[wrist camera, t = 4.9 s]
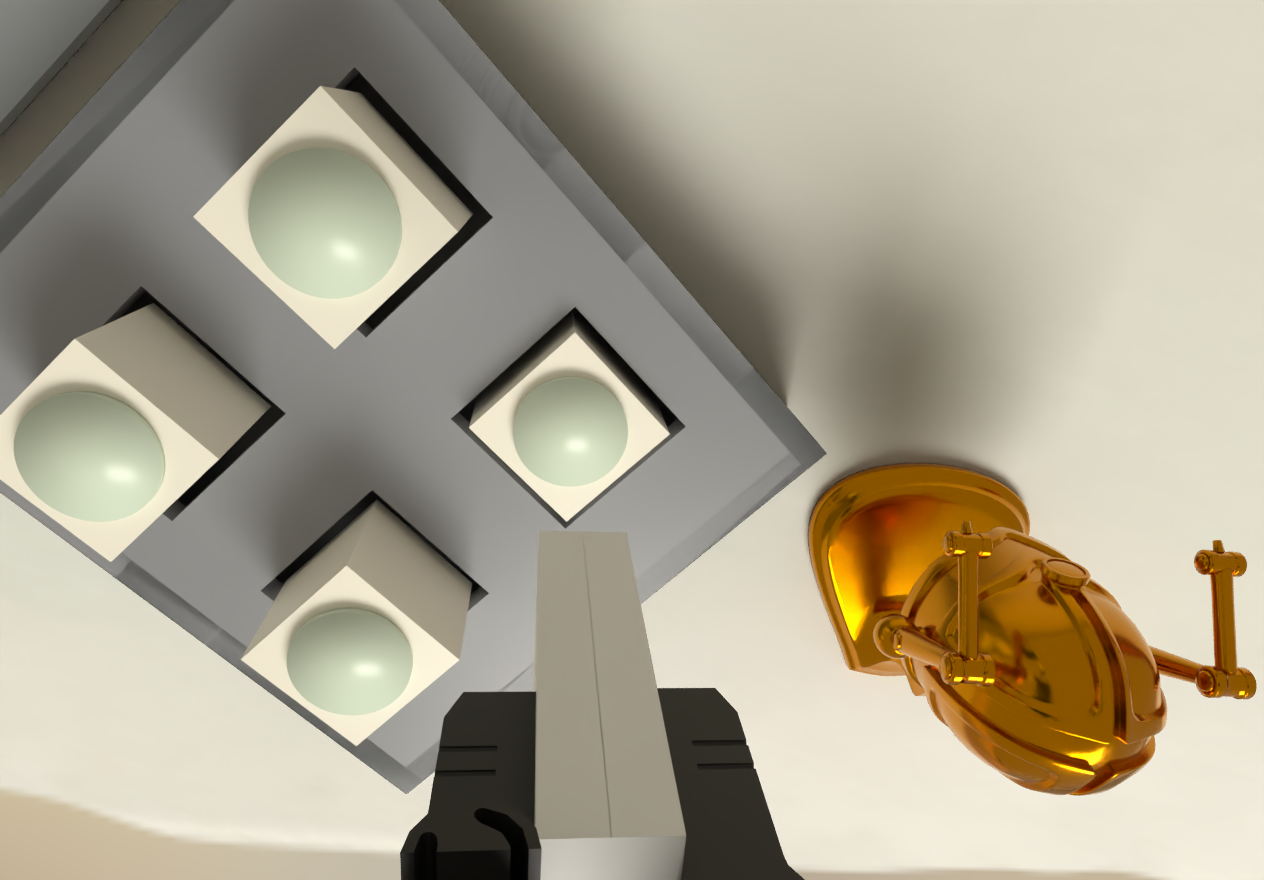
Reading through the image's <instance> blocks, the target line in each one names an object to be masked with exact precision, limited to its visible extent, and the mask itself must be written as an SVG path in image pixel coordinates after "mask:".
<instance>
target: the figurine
mask: <svg viewBox="0 0 1264 880" xmlns="http://www.w3.org/2000/svg"><path fill="white" fill-rule="evenodd" d="M1029 532H1030V520H1029V514H1028V512H1027V509H1026V507H1025V505H1024V504H1023V502H1022V501H1021V499H1020V498H1019V497H1018V496H1017V495H1016V494H1015V493H1014V492H1013V491H1012V490H1010V489H1009V488H1008V487H1007V486H1005V485H1003V484H1002V483H1000V482H999V481H997V480H995V479H993V478H991V477H989V476H986V475H984V474H981V473H979V472H975V471H972V470H969V469H964V468H960V467H955V466H949V465H941V464H930V463H904V464H893V465H885V466H880V467H875V468H871V469H867V470H864V471H861V472H858V473H855V474H853V475H850V476H848V477H846V478H844V479H842V480H840V481H839V482H837V483H836V484H834V485H833V486H832V487H830V488H829V489H828V490H827V491H826V492H825V493H824V494H823V495H822V496H821V498H820V499H819V500H818V502H817V504H816V505H815V507H814V509H813V512H812V515H811V518H810V523H809V528H808V543H809V552H810V558H811V563H812V567H813V571H814V575H815V578H816V582H817V585H818V588H819V591H820V594H821V597H822V600H823V602H824V605H825V608H826V610H827V613H828V616H829V618H830V621H831V623H832V626H833V628H834V631H835V633H836V636H837V638H838V641H839V643H840V646H841V649H842V652H843V655H844V659H845V662H846V665H847V667H848V668H849V669H850V670H853V671H858V672H862V673H867V674H872V675H880V676H902V675H906V676H907V678H908V681H909V684H910V687H911V690H912V692H913V694H914V695H916V696H926V698H927V701H928V704H929V706H930V708H931V710H932V711H933V713H934V714H935V715H936V716H937V718H938V719H939V720H940V721H941V722H942V723H944V724H945V725H946V726H948V727H949V728H950V729H951V731H952V732H953V733H954V735H955V736H956V737H957V738H958V739H959V741H960V742H961V743H962V744H963V745H964V746H965V747H966V748H967V749H968V750H969V751H970V752H972V753H973V754H974V755H975V756H976V757H978V758H979V759H980V760H982V761H983V762H984V763H986V764H987V765H989V766H990V767H992V768H994V769H995V770H997V771H999V772H1000V773H1001V774H1003V775H1004V776H1006V777H1007V778H1008V779H1010V780H1011V781H1013V782H1015V783H1016V784H1018V785H1020V786H1022V787H1025V788H1027V789H1030V790H1034V791H1038V792H1042V793H1048V794H1054V795H1066V794H1070V795H1078V796H1081V795H1090V794H1097V793H1101V792H1104V791H1107V790H1109V789H1111V788H1113V787H1115V786H1117V785H1118V784H1120V783H1122V782H1123V781H1125V780H1126V779H1128V778H1129V777H1131V776H1133V775H1134V774H1136V773H1137V772H1138V771H1140V770H1141V769H1142V768H1143V767H1144V766H1145V765H1146V764H1147V763H1148V762H1149V761H1150V760H1151V758H1152V757H1153V755H1154V752H1155V738H1154V735H1155V734H1157V733H1159V732H1160V731H1161V730H1163V728H1164V727H1165V724H1166V720H1167V704H1166V699H1165V696H1164V693H1163V691H1162V689H1161V686H1160V676H1159V674H1160V675H1164V676H1168V677H1172V678H1176V679H1180V680H1183V681H1187V682H1191V683H1195V684H1196V686H1197V689H1198V690H1199V692H1200V693H1201V694H1202V695H1203V696H1205V697H1209V698H1219V697H1222V696H1225V697H1233V698H1236V699H1250V698H1251V697H1253V696H1254V694H1255V692H1256V680H1255V678H1254V676H1253V674H1252V673H1251V672H1250V671H1249V670H1247V669H1246V668H1242V667H1237V653H1236V633H1235V613H1234V591H1233V577H1240V576H1242V575H1243V574H1244V573H1245V571H1246V568H1247V563H1246V559H1245V557H1244V556H1243V555H1242V554H1241V553H1238V552H1225V550H1224V547H1223V544H1222V541H1221V540H1214V541H1213V551H1212V550H1200V551H1199V552H1197V554H1196V556H1195V558H1194V565H1195V568H1196V570H1197V571H1198V572H1199V573H1201V574H1203V575H1210V579H1211V591H1212V613H1213V636H1214V658H1215V666H1206V665H1205V666H1204V665H1201V664H1199V663H1196V662H1193V661H1190V660H1188V659H1185V658H1182V657H1179V656H1176V655H1174V654H1171V653H1168V652H1165V651H1163V650H1160V649H1157V648H1154V647H1152V646H1149V645H1148V644H1147V643H1146V641H1145V639H1144V638H1143V636H1142V634H1141V633H1140V631H1139V630H1138V629H1137V627H1136V626H1135V624H1134V623H1133V622H1132V621H1131V620H1130V618H1129V617H1128V616H1127V615H1126V614H1125V613H1124V612H1123V611H1122V609H1121V607H1120V605H1119V604H1118V602H1117V601H1116V599H1115V598H1114V597H1113V596H1112V595H1111V594H1110V593H1109V592H1108V591H1107V590H1106V589H1105V588H1103V587H1102V586H1101V585H1100V584H1098V583H1097V582H1095V581H1094V580H1092V579H1091V578H1090V574H1089V572H1088V571H1087V570H1086V569H1085V568H1084V567H1082V566H1081V565H1079V564H1077V563H1074V562H1072V561H1071V560H1070V559H1068V558H1067V557H1066V556H1065V555H1064V554H1062V553H1061V552H1059V551H1058V550H1056V549H1055V548H1053V547H1051V546H1049V545H1048V544H1046V543H1044V542H1042V541H1040V540H1037V539H1035V538H1033V537H1031V536H1029ZM1224 552H1225V553H1224Z"/></svg>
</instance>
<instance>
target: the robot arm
mask: <svg viewBox="0 0 1264 880" xmlns="http://www.w3.org/2000/svg"><path fill="white" fill-rule="evenodd" d="M400 857H401V880H804V879H803V878H802V877H801V876H800V875H799V874H798V873H796V872H795V871H794V870H793V869H792V868H791V867H790V866H789V865H788V864H787V862H786V860H785V857H784V855H783V852H782V849H781V846H780V843H779V840H778V837H777V834H776V831H775V827H774V824H773V821H772V818H771V815H770V812H769V809H768V806H767V803H766V800H765V797H764V793H763V790H762V787H761V784H760V781H759V778H758V775H757V772H756V769H754V762H753V759H752V756H751V753H750V750H749V747H748V745H746V738H745V735H744V732H743V728H742V725H741V722H740V719H739V716H738V713H737V711H736V710H735V709H734V708H733V707H732V706H731V705H730V704H729V703H728V702H727V700H726V699H725V698H724V697H723V696H722V695H721V694H720V693H719V692H718V691H717V690H716V689H715V688H657V685H656V680H655V675H654V670H653V665H652V660H651V655H650V650H649V644H648V639H647V634H646V629H645V624H644V619H643V614H642V609H641V604H640V599H639V594H638V589H637V584H636V579H635V574H634V569H633V564H632V559H631V553H630V548H629V543H628V538H627V533H626V532H574V531H539V536H538V566H537V597H536V628H535V659H534V692H463V693H462V694H461V696H460V697H459V698H458V700H457V701H456V702H455V703H454V705H453V706H452V707H451V709H450V710H449V711H448V712H447V714H446V715H445V716H444V720H443V726H442V732H441V738H440V744H439V752H438V756H437V762H436V769H435V777H434V781H433V787H432V793H431V799H430V805H429V811H428V814H427V815H426V816H425V817H424V818H423V819H422V820H421V821H420V822H419V823H418V824H417V825H416V826H415V827H414V828H413V829H412V830H411V831H410V832H409V834H408V836H407V839H406V841H405V843H404V846H403V848H402V850H401V852H400Z"/></svg>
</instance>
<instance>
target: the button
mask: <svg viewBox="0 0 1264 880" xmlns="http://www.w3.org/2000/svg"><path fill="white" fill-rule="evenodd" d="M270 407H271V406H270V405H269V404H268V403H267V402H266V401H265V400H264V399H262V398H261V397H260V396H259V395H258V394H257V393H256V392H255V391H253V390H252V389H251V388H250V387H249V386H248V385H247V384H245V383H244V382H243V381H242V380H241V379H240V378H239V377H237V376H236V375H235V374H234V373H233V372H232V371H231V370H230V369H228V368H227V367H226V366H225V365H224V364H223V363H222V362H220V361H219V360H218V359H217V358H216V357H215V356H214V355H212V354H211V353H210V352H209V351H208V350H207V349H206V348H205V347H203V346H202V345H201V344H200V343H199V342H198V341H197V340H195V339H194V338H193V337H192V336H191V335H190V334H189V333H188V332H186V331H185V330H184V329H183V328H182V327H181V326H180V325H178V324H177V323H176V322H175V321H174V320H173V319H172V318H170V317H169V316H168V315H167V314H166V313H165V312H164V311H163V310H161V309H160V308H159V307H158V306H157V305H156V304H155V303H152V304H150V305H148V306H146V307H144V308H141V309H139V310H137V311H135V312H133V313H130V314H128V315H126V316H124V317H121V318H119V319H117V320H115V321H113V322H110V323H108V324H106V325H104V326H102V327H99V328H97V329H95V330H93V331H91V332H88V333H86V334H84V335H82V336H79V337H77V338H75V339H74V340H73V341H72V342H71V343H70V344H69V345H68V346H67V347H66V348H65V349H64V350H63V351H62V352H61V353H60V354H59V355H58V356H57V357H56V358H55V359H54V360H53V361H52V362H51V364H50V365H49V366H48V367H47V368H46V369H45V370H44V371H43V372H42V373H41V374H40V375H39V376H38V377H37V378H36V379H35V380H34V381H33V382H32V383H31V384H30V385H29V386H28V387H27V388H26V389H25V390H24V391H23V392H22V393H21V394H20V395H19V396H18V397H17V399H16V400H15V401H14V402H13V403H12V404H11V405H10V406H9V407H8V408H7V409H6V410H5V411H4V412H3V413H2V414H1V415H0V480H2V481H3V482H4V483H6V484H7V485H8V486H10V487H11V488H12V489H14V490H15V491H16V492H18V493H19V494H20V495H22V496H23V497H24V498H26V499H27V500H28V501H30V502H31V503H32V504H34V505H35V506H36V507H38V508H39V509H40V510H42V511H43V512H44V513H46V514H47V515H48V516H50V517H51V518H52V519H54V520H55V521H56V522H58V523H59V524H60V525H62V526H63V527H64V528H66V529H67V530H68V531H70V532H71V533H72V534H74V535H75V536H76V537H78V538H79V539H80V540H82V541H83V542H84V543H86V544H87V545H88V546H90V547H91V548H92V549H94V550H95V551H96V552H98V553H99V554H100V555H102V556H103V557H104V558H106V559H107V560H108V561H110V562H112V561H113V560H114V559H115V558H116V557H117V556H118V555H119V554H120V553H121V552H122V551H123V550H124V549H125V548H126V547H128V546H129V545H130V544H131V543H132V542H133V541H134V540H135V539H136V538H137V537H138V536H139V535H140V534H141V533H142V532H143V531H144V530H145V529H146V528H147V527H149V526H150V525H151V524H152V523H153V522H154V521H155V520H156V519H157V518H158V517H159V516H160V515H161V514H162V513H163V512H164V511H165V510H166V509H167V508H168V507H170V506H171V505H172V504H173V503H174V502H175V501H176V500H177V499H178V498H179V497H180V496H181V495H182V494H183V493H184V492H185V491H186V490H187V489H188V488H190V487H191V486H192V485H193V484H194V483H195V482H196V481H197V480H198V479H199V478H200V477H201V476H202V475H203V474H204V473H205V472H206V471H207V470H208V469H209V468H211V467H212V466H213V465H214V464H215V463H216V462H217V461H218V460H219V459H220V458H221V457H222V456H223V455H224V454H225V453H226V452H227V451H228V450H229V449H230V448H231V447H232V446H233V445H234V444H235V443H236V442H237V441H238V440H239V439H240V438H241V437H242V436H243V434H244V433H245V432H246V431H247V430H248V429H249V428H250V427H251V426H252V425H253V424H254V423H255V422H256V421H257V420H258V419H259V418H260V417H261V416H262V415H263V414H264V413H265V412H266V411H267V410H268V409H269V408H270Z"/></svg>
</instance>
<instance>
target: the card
mask: <svg viewBox="0 0 1264 880" xmlns="http://www.w3.org/2000/svg"><path fill="white" fill-rule="evenodd" d="M121 1H122V0H0V136H1V135H2V134H3V133H4V132H5V131H6V130H7V129H8V127H9V126H10V125H11V124H12V123H13V122H14V121H15V120H16V119H17V117H18V116H19V115H20V114H21V113H22V112H23V111H24V110H25V108H26V107H27V106H28V105H29V104H30V103H31V102H32V101H33V100H34V98H35V97H36V96H37V95H38V94H39V93H40V92H41V91H42V90H43V88H44V87H45V86H46V85H47V84H48V83H49V82H50V81H51V79H52V78H53V77H54V76H55V75H56V74H57V73H58V72H59V71H60V69H61V68H62V67H63V66H64V65H65V64H66V63H67V62H68V61H69V59H70V58H71V57H72V56H73V55H74V54H75V53H76V52H77V50H78V49H79V48H80V47H81V46H82V45H83V44H84V43H85V42H86V40H87V39H88V38H89V37H90V36H91V35H92V34H93V33H94V32H95V30H96V29H97V28H98V27H99V26H100V25H101V24H102V23H103V21H104V20H105V19H106V18H107V17H108V16H109V15H110V14H111V13H112V11H113V10H114V9H115V8H116V7H117V6H118V5H119V4H120V3H121Z"/></svg>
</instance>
